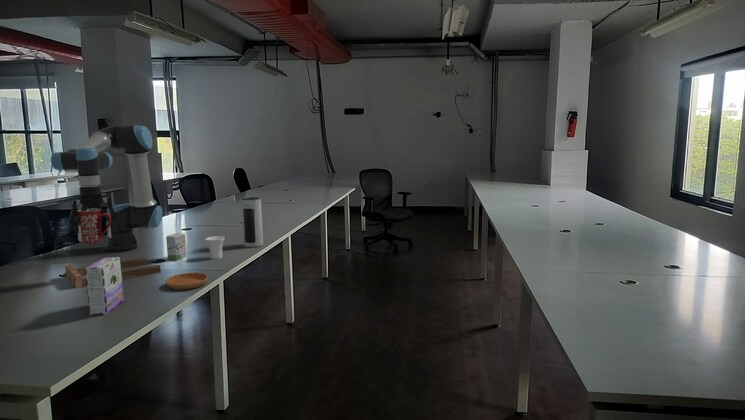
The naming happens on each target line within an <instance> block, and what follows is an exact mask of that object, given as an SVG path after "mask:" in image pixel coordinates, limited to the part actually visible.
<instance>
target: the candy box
mask: <svg viewBox="0 0 745 420" xmlns="http://www.w3.org/2000/svg"><path fill="white" fill-rule="evenodd" d="M120 261H121V258H120V256H117V257H116V256H115V257H103V258H101V259H99V260H98V261H96V262H94V263H92V264H91V265H89V266H86V267H87V268H85V272H86V275H85V278H86V283H87V286H86V291H87V292H86V293H87V301H88V311H89V316H95V315H96V316H97V315H98V316H104V315H108V314H110V312H112V311H113V310H114V309H115V308H116V307H118V306H119V305H120V304H121V303H122V302H123V301H125V297H124V288H123V287H124V286H123V279H122V274H121V271H122V269H121V264H120Z"/></svg>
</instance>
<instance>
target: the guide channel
mask: <svg viewBox="0 0 745 420" xmlns="http://www.w3.org/2000/svg"><path fill="white" fill-rule="evenodd" d="M120 264H121V274H122V280H126V279H133V278H137V277H143V275H144V276H148V274H149V275H153V273H154V274H158V273H159V274H160V273H161V265H160V264H156V265H149V266H145V265H148V258H147V257H146V256H145V257H138V258H133V259H125V260H120ZM139 266H144V267H139ZM87 267H88V266H83V267H77V268H74V267H73V266H72V265H71V264H68V265H67V264H66V265H65V266H64V270H65V278H66V279H68V281H69V282H70V283H71V284H72V285H73V286H74V287H75V288H76V289H79V288H83V287H87V283H86V277H82V276H86V272H85V268H87ZM132 267H133V269H128V268H132ZM134 267H138V268H134ZM123 269H128V270H123Z"/></svg>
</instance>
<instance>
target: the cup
mask: <svg viewBox="0 0 745 420" xmlns="http://www.w3.org/2000/svg"><path fill="white" fill-rule="evenodd" d="M204 240H205V241H206V244H207V246H208V248H209V253H210V255H209V256H210V259H211V260H219V259H222V258H223V246H224V241H225V236H223V235H222V236H221V235H218V236H217V235H215V236H208V237H206V238H205V239H204Z"/></svg>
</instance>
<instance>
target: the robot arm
mask: <svg viewBox="0 0 745 420" xmlns="http://www.w3.org/2000/svg"><path fill="white" fill-rule="evenodd" d="M152 148H153V137H152V133H151V131H150V130H149V129H148V127H146V126H144V125H135V124H134V125H133V124H132V125H111V126H107V127H104V128H102V129H98V130H97V131H95V132H94V133H92V134H91V135H90V137H89V138H88V139H86V140H83V141H82V142H80V143H78V144H77V145H75V146H74V147H72V148H70V149H68V150H66V151H64V152H61V151H59V152H58V151H57V152H54V153H52V154H51V157H50V162H51V163H50V164H51V166H52V168H54V170H57V171H77V175H78V176H77V177H78V185H79V197H80V198H79V199H77V200H76V199H72V200H71V210H70V213H69V218H68V224H69V225H70V226H73V228H74V230H73V231H74V233H75V234H77V237H78V238H77V239H78V242H81V243H82V235H81V226H80V225H79V222H80V221H81V217H80V215H79V216H78V215H77V216H76V214H77V210H78V209H77V208H78V205H80V204H81V208H80V209H81V211H86V210H87V209H91V208H98V209H99V210H100V209H101V214H103V213H107V214H109V215H110V216H111V224H110V226H109V228H108V230H107V231H106V233H107V241H106V245H105V249H106V250H107V251H110V252H111V251H113V252H116V251H117V252H118V251H119V252H120V251H126V250H127V251H128V250H129V251H130V250H132V249H136V248H138V247H139V242H138V239H137V238H136V237H137V236H135V233H134V229H151V228H154V229H155V228H158V227H159V226H160V224H161V222H162V219H163V208H162V206H160V205H158V202H157V200H155V199H154V195H153V189H152V183H151V176H150V168H149V161H148V154H149V153H150V149H152ZM108 150H123V153H124V155H126V156H127V157H128V165H129V170H130V176H131V177H130V178H131V182H132V189H133V195H134V202H133V203H132V204H131V203H128V202H127V203H122V204H115V205H113V204H112V203H111V198H110V197H108V196H107V197H103V195H102V189H101V188H102V187H101V179H100V178H101V177H100V170H106V169H109V168H111V167H112V165H113V161H114V159H113V156H112V155H111V154H110V153H108V152H106V151H108ZM103 202H104V203H105V204H106V207H107V208H106V209H104V207H103V206H102V205H101V204H102V203H103ZM75 216H76V218H75ZM103 217H105V219H106V220H107V221H106V226H107V225H108V222H109V219H108V217H107V216H106V215H104V216H103Z"/></svg>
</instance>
